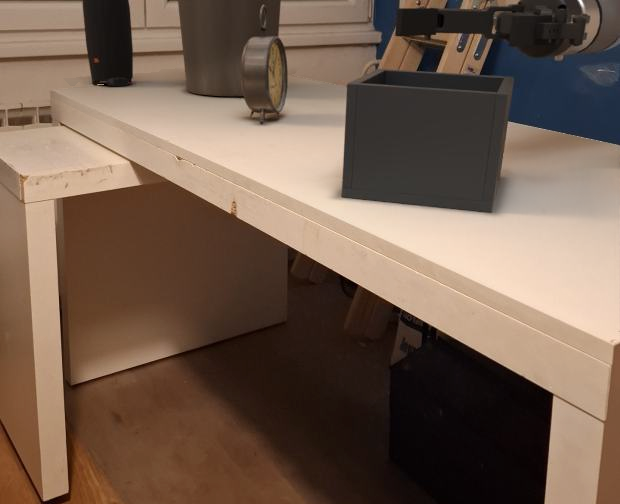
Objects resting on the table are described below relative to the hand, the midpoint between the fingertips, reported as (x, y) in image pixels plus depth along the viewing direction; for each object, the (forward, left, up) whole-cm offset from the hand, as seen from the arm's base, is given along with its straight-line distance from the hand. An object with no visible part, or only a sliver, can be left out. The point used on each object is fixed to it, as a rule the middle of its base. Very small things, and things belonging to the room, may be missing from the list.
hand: (453, 26), depth 75 cm
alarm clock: (+31, -32, -16) cm, 47 cm away
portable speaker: (+71, -57, -16) cm, 92 cm away
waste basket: (+47, -59, -16) cm, 77 cm away
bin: (+1, +1, -16) cm, 16 cm away
